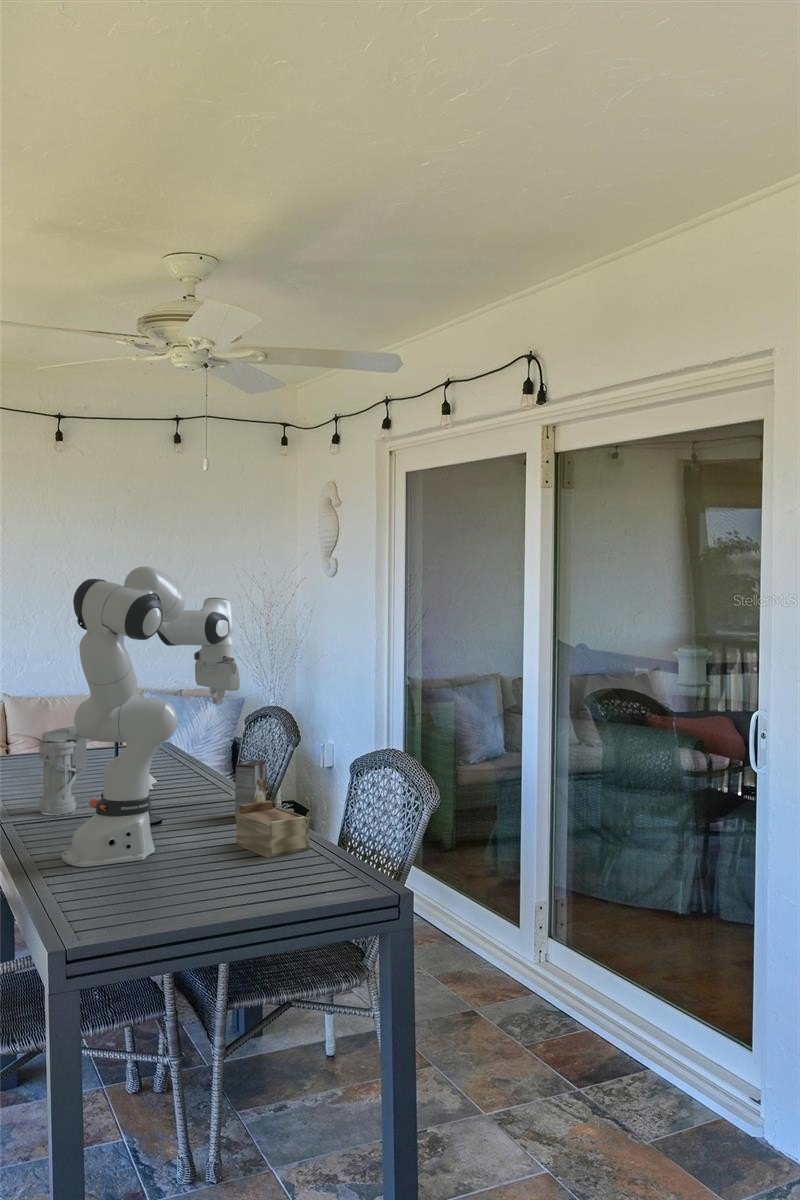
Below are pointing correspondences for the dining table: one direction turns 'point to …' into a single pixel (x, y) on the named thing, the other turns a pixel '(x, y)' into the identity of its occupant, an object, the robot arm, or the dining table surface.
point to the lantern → (61, 768)
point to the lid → (264, 812)
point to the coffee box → (250, 783)
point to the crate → (273, 835)
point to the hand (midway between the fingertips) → (217, 704)
